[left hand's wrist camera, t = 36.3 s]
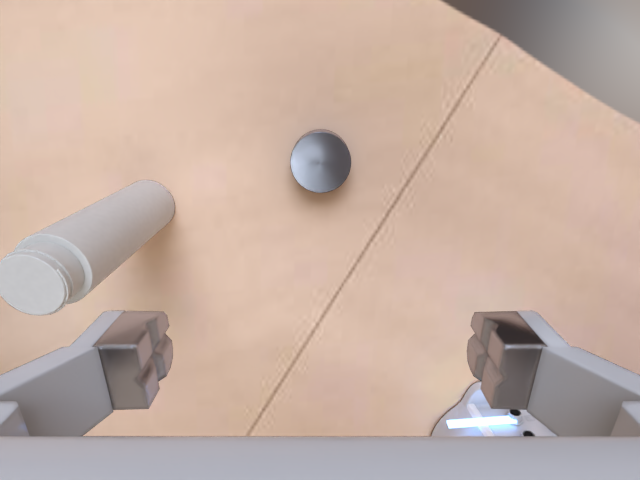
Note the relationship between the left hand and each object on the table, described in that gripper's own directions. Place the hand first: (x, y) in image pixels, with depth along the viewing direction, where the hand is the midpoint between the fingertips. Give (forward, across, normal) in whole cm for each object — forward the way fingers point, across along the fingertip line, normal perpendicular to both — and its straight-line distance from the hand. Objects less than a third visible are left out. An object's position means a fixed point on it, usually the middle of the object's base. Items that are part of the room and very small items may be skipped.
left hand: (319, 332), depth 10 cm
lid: (+26, 0, 0) cm, 26 cm away
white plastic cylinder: (+28, +16, +4) cm, 32 cm away
